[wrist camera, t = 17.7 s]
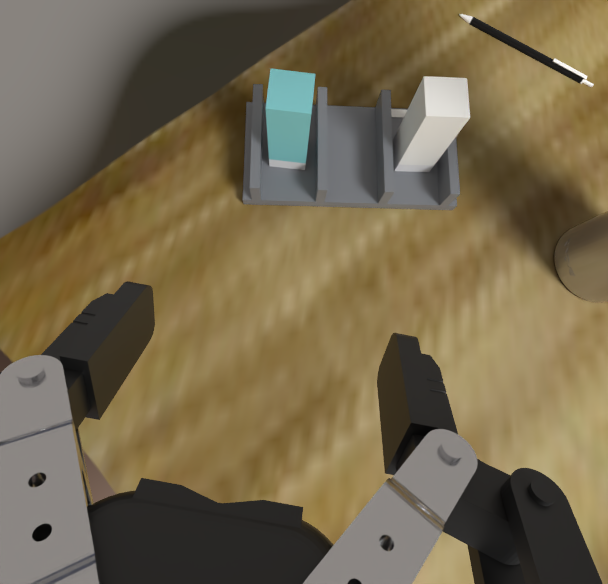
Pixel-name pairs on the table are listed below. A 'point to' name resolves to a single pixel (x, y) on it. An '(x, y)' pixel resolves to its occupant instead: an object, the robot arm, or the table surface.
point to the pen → (528, 50)
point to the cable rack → (345, 162)
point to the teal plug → (289, 117)
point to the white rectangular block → (431, 123)
